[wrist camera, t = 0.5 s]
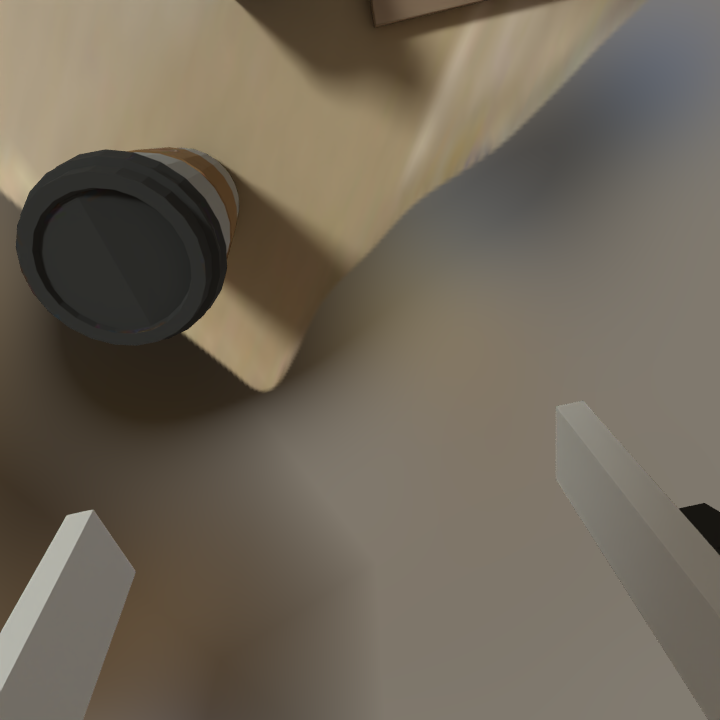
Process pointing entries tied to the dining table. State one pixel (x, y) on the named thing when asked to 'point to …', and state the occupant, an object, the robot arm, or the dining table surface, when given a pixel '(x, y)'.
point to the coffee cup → (129, 241)
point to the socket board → (410, 9)
